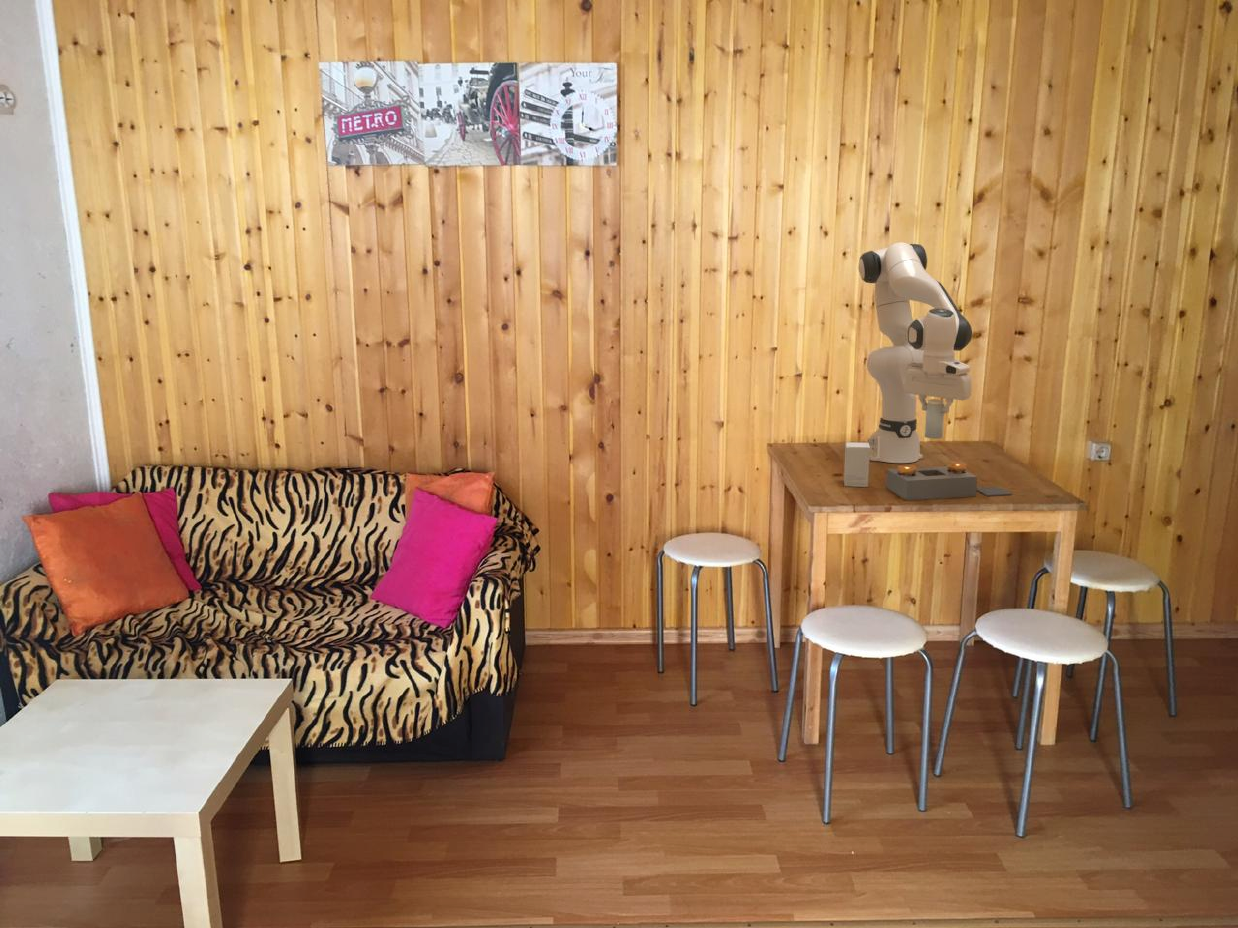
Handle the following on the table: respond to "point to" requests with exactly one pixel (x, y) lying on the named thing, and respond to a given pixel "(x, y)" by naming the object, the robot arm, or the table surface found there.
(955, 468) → the plunger
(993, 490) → the mat
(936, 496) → the block
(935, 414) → the block
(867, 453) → the supplement box
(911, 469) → the plunger
